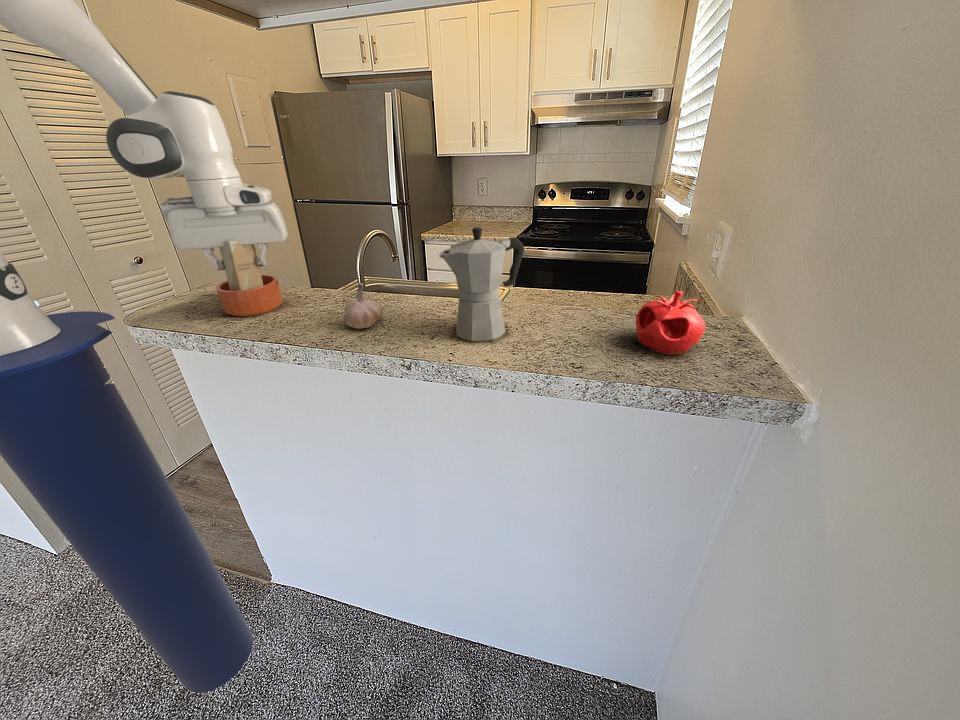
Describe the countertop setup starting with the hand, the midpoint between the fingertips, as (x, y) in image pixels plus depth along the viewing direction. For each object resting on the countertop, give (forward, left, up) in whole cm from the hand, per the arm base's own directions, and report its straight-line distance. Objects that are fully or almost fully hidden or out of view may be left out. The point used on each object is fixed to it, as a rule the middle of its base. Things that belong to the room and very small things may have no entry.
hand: (242, 267), depth 82 cm
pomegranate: (+70, -42, -9) cm, 82 cm away
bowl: (0, 0, -9) cm, 9 cm away
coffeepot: (+44, -27, -9) cm, 52 cm away
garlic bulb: (+23, -17, -9) cm, 30 cm away
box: (0, 0, -6) cm, 6 cm away
